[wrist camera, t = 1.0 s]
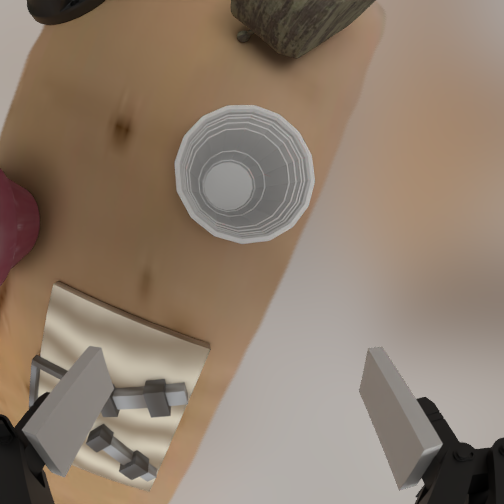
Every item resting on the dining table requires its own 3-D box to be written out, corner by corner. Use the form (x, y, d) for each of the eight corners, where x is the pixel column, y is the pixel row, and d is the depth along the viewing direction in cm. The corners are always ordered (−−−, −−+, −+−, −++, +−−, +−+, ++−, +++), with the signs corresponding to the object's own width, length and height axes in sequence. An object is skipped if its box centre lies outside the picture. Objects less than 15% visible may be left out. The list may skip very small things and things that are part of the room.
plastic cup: (295, 192, 35) (343, 184, 23) (223, 253, 34) (239, 274, 22) (236, 120, 32) (259, 77, 21) (161, 178, 32) (143, 160, 20)
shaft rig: (54, 279, 30) (38, 288, 26) (209, 344, 35) (212, 361, 31) (35, 440, 32) (26, 456, 27) (149, 485, 36) (148, 504, 32)
